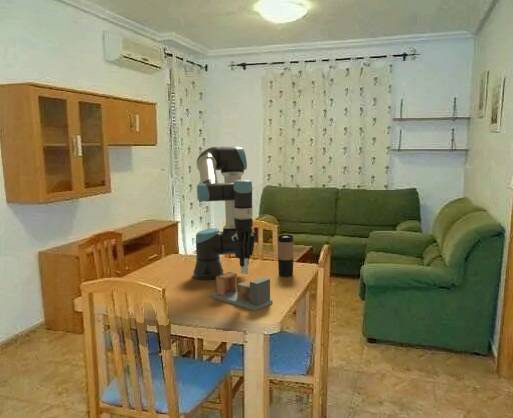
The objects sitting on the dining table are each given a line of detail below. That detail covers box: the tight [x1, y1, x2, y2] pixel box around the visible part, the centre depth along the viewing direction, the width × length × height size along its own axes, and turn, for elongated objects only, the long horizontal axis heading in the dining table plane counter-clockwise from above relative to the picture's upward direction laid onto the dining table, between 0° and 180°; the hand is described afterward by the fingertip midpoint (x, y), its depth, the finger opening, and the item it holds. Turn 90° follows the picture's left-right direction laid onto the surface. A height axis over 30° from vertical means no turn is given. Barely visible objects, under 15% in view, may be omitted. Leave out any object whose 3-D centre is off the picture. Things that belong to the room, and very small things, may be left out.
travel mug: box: [277, 234, 294, 278], centre depth 224 cm, size 8×8×20 cm
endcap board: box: [211, 276, 273, 312], centre depth 189 cm, size 25×11×11 cm, turn 49°
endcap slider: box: [215, 271, 238, 296], centre depth 195 cm, size 4×8×8 cm, turn 139°
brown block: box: [237, 281, 250, 301], centre depth 186 cm, size 12×4×6 cm, turn 49°
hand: (244, 273), depth 187 cm, fingers closed
